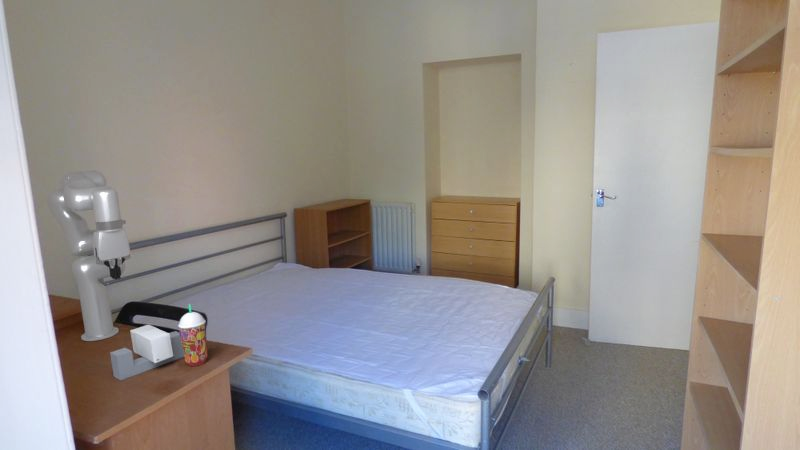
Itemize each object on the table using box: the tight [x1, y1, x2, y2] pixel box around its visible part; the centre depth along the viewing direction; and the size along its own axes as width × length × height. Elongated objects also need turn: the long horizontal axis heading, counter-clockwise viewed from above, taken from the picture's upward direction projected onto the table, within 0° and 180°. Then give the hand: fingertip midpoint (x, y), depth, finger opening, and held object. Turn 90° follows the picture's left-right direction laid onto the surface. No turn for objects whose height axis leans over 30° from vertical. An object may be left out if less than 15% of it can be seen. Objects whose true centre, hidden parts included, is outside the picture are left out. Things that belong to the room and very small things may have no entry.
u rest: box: [109, 330, 185, 381], centre depth 165 cm, size 5×21×8 cm, turn 141°
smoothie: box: [177, 303, 208, 367], centre depth 165 cm, size 8×8×20 cm
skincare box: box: [129, 324, 173, 363], centre depth 166 cm, size 8×7×16 cm
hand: (116, 278), depth 172 cm, fingers closed
